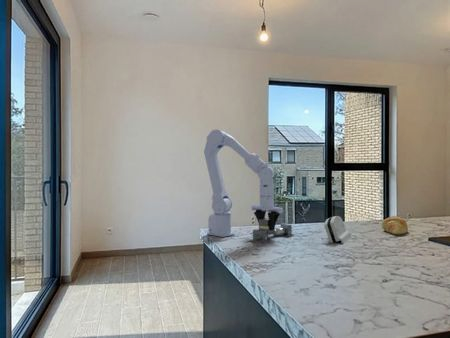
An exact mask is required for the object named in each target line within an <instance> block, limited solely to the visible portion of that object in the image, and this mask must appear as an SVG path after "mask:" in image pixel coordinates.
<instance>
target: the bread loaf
mask: <svg viewBox="0 0 450 338" xmlns="http://www.w3.org/2000/svg"><path fill="white" fill-rule="evenodd" d="M381 228H382V229H383V230H384V231H385V232H387V233H388V234H392V235H403V234H407V233H408V231H409V229H408V228H409V227H408V224H407V221H406V220H405V218H402V217H399V216H398V215H392V216H389V217H387V218H385V219H383V221H382V222H381Z"/></svg>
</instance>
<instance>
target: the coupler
mask: <svg viewBox="0 0 450 338" xmlns="http://www.w3.org/2000/svg"><path fill="white" fill-rule="evenodd" d="M258 230H267V233H268V236H270V235H273V234H274V230H270V222H269V217H265V218H263V219H259V223H258Z"/></svg>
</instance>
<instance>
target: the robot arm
mask: <svg viewBox="0 0 450 338" xmlns="http://www.w3.org/2000/svg"><path fill="white" fill-rule="evenodd" d="M225 146H226V147H229V148H231V149H232V150H233V151H234V152H235V153H237V154H238V155H239V156H240V157H241V158H243V159H244V164H245V165H246V166H247V167H248V168H249V169H250V170H251V171H252V172H253V173H255V174H257V176H258V179H259V205H257V204H256V205H251V211H253V214H254V216H255V217H256V220H257V222H258V224H259V219H263V218H266V213H267V218H269V222H270V230H274V229H276V226H277V225H276V224H277V222H278V221H277V220H278V219H279V216H280V215H281V214H283V213H284V208H283V207H278V206H275V202H274V201H275V197H274V195H275V194H274V192H275V190H274V189H275V187H274V185H275V184H274V177H275V170H274V168H273V167H272V166H270V165H269V164H268V162H265V161H263V159H261V158H260V155H259V154H256V153H254V152H253V153H252V152H251V153H250V152H249V151H248V150H247V149H246V148H245V147H244V146H243V145H242V144H240V143H239V142H238V141H237V140H236V138H234V137H233V136H232V135H230V134H228V133H227V131H224V130H220V129H217V128H216V129H213V130H211V131H210V132H209V133H208V135H207V136H206V143H205V146H204V149H203V150H204V151H203V153H204V160H205V164H206V167H207V171H208V177H209V181H210V184H211V189H212V196H211V200H212V203H211V209H212V211H213V212H212V213H211V214H209V216H208V220H207V221H208V227H207V228H208V230H207V231H208V232H207V233H206V234H207V235H210V236H215V237H222V238H224V237H228V236H233V235H236V232H232V212H231V209H232V207H233V202H232V200H231V198H230V197H229V194H228V192H227V191H226V188H225V184H224V180H223V175H222V171H221V166H220V163H219V158H218V154H219V152H220V151H221V149H222V148H223V147H225Z"/></svg>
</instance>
